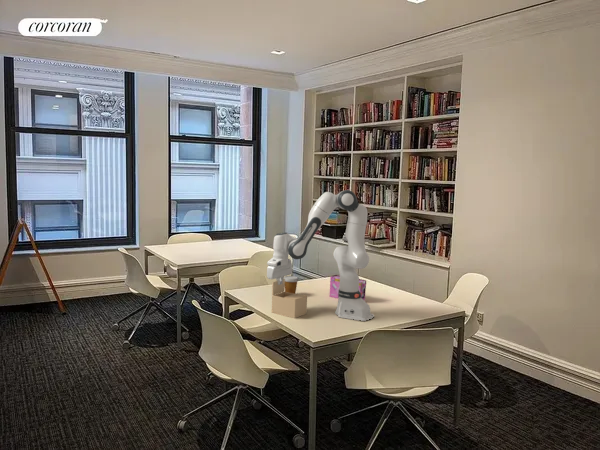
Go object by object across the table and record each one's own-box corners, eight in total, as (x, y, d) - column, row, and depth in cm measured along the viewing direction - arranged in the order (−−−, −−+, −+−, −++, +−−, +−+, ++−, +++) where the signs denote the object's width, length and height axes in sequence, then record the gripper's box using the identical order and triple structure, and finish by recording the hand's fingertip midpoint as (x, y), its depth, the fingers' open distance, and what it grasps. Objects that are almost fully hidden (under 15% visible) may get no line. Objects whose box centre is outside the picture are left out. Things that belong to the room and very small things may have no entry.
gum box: (367, 301, 317) (368, 280, 316) (361, 303, 311) (362, 282, 309) (335, 294, 331) (336, 274, 329) (328, 296, 324) (329, 276, 323)
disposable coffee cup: (300, 295, 324) (301, 277, 323) (292, 298, 316) (293, 279, 315) (287, 292, 329) (288, 275, 327) (280, 295, 321) (280, 277, 319)
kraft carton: (306, 313, 284) (307, 295, 283) (294, 318, 274) (295, 299, 273) (283, 308, 293) (284, 290, 292) (271, 312, 283) (272, 294, 282)
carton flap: (284, 278, 291) (284, 278, 291) (273, 282, 282) (272, 281, 282) (284, 291, 292) (283, 291, 292) (272, 295, 282) (271, 295, 283)
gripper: (286, 257, 295) (285, 280, 296) (265, 262, 278) (264, 286, 279) (295, 259, 291) (294, 282, 293) (274, 263, 274) (273, 288, 276)
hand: (279, 284), depth 286 cm, fingers closed, pressing on carton flap
